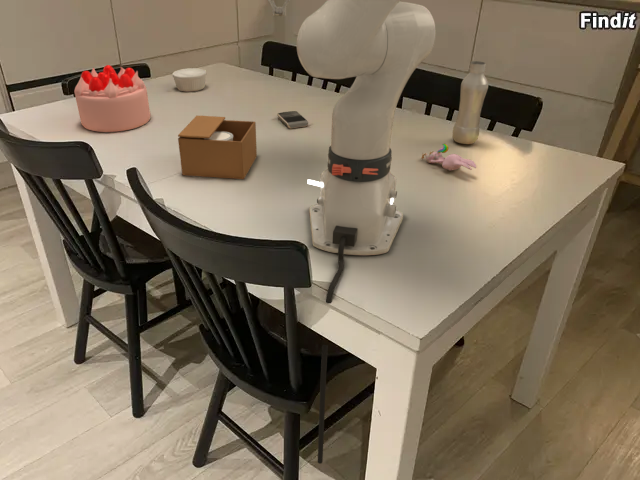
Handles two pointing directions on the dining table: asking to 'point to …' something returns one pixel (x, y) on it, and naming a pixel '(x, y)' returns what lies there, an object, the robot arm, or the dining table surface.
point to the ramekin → (190, 79)
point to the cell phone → (292, 119)
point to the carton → (220, 152)
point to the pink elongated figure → (448, 159)
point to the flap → (202, 127)
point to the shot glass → (221, 136)
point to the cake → (112, 100)
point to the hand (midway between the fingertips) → (279, 15)
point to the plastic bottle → (471, 104)
